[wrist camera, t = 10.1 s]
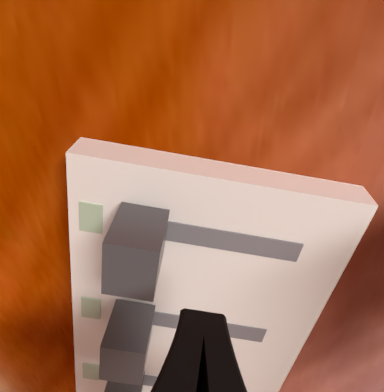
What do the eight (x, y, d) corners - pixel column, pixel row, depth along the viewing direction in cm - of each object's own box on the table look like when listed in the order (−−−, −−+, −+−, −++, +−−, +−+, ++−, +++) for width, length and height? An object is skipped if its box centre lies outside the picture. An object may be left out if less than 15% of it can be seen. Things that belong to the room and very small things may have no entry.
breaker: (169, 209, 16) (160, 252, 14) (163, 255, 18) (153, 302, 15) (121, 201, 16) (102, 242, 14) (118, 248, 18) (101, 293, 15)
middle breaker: (155, 305, 20) (145, 354, 17) (150, 336, 21) (141, 386, 19) (116, 299, 20) (99, 347, 17) (114, 330, 21) (99, 379, 19)
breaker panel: (362, 185, 18) (379, 207, 16) (259, 396, 28) (261, 423, 27) (81, 136, 17) (64, 153, 15) (84, 369, 28) (75, 395, 26)
